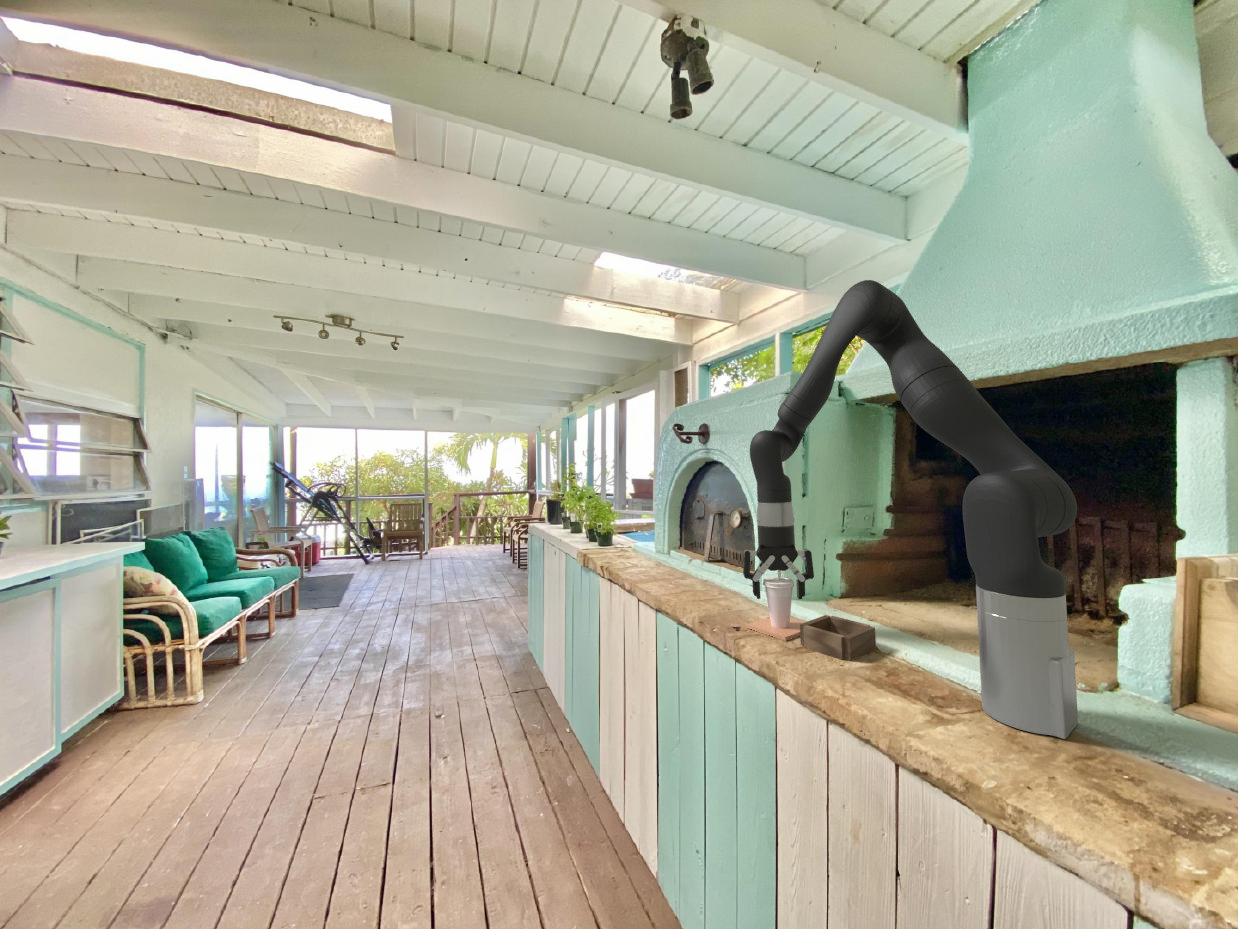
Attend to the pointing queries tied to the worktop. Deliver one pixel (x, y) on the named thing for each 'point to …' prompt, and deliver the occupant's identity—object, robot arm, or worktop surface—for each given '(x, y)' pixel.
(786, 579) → the smoothie
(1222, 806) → the worktop surface
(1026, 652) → the robot arm
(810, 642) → the wooden storage tray
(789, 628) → the terracotta tile
